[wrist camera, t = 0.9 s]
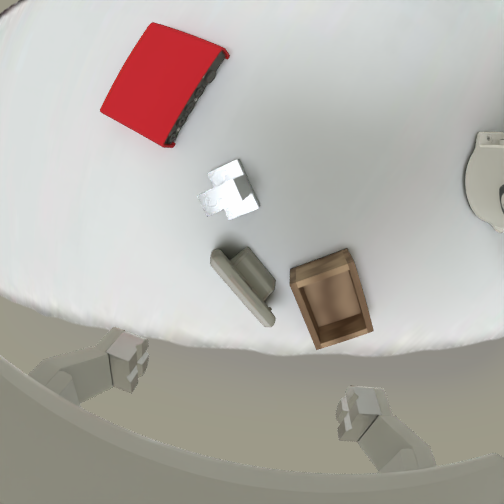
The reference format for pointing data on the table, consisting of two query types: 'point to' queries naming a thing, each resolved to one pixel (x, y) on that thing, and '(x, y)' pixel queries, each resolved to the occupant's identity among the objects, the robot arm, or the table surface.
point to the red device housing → (162, 82)
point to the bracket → (229, 192)
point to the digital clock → (247, 281)
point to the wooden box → (331, 299)
